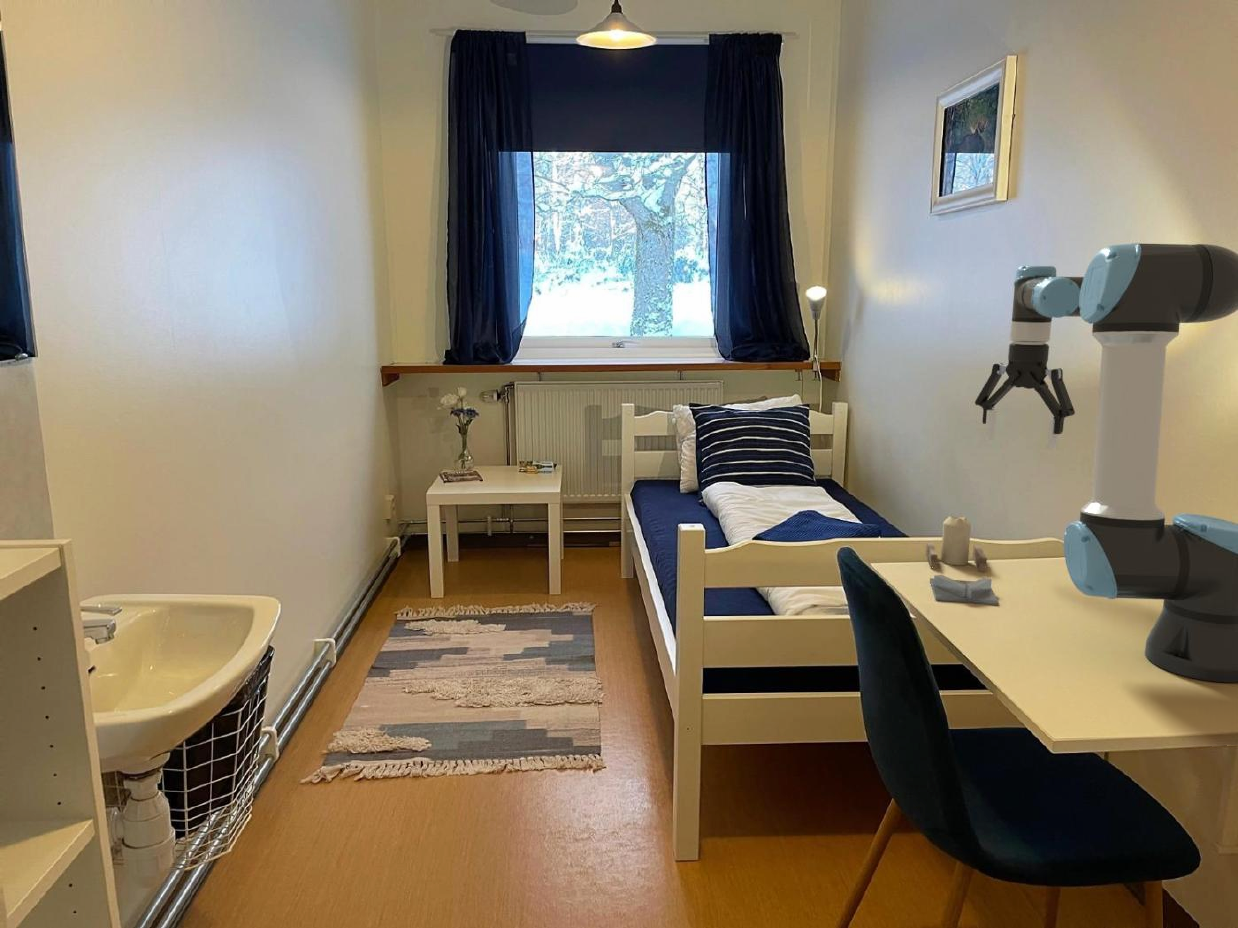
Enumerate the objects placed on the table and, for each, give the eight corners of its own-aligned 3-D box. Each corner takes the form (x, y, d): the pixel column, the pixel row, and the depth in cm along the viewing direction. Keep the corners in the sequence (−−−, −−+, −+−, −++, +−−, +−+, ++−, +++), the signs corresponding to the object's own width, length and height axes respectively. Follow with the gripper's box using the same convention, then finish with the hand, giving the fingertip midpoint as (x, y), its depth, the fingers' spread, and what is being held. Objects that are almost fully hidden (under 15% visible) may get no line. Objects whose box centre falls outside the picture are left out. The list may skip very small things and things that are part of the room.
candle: (964, 558, 203) (967, 513, 201) (970, 566, 198) (974, 520, 196) (937, 557, 204) (941, 512, 202) (944, 565, 198) (947, 519, 197)
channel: (985, 571, 194) (986, 557, 193) (930, 568, 196) (931, 554, 196) (978, 558, 204) (979, 544, 203) (925, 554, 206) (926, 541, 205)
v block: (997, 604, 175) (998, 590, 174) (935, 600, 177) (936, 586, 176) (988, 586, 185) (989, 572, 185) (929, 582, 187) (930, 568, 187)
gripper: (1099, 345, 186) (1088, 451, 190) (982, 337, 204) (974, 433, 209) (1082, 348, 181) (1071, 456, 185) (963, 339, 200) (955, 437, 204)
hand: (1019, 444), depth 197 cm, fingers open, 13 cm apart
